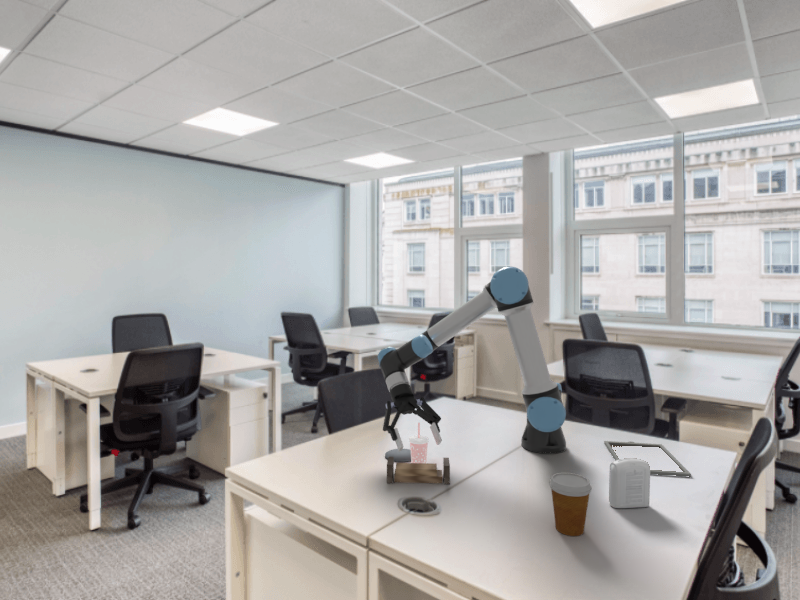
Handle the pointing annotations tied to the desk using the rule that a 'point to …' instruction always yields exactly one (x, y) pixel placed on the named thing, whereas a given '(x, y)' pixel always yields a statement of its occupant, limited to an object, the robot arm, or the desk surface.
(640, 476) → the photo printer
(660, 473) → the grey rectangular frame
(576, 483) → the disposable coffee cup
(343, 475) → the desk surface
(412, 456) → the beverage cup
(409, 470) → the offcut rack
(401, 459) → the mat
